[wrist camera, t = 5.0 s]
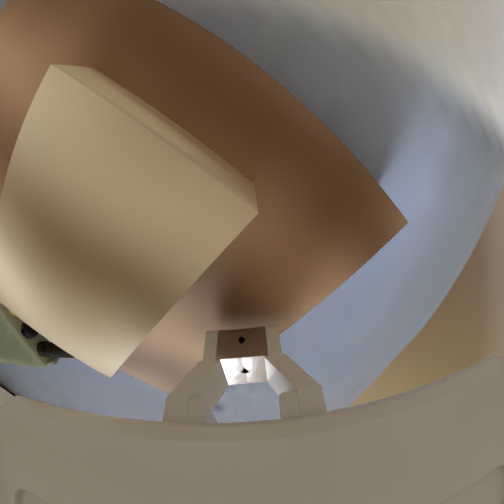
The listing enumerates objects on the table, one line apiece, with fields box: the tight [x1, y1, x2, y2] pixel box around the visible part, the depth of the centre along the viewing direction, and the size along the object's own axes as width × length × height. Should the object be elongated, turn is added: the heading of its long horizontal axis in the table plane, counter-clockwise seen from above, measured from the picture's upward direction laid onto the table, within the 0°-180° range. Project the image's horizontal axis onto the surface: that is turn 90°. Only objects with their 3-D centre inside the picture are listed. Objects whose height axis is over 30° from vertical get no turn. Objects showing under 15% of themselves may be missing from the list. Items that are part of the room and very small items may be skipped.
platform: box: [0, 0, 408, 394], centre depth 11 cm, size 16×20×4 cm
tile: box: [0, 64, 258, 378], centre depth 9 cm, size 10×7×2 cm
